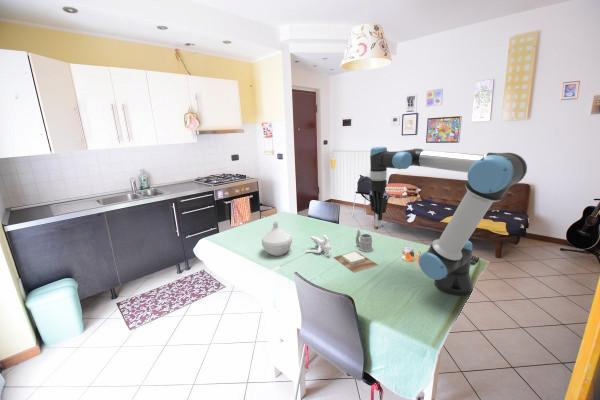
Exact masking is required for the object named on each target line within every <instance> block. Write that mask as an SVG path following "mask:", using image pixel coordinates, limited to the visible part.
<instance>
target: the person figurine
mask: <svg viewBox="0 0 600 400" xmlns="http://www.w3.org/2000/svg"><path fill="white" fill-rule="evenodd" d="M322 237H323V239H320V238H319V237H318V236H317V237H316V236H312V235H311V236H310V240H312V241H313V242H314V244H316V245H314V246H313V247H314V248H317V247H318V248H317V249H312V250H305V251H304V253H305V254H309V253H314V254H321V253H322V252H324V256H325V257H327V258H328V257H329V256H331V253H329V250H331V249H332V246H331V245H330V238H328V237H327V235H326V234H323V235H322Z"/></svg>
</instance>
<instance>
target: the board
mask: <svg viewBox="0 0 600 400" xmlns="http://www.w3.org/2000/svg"><path fill="white" fill-rule="evenodd" d="M353 252H356V253H358V254H359V255H361V256H363V257H364V258H365V261H364V262H360V263H357V264H353V265H351V264H349V263H348V262H346V261H345V260H343V259H342V255H345V254H349V253H353ZM332 259H334V260H335V261H337V262H338V263H340V264H341V265H343V266H344V267H345V268H346V269H348V270H349V271H350V272H352V273H353V274H355V273H358V272H361V271H366V270H369V269H372V268H374V267H378V266H379V264H378V263H376V262H374V261H373V260H372V259H370V258H368V257H367V256H365V255H363V254H362V253H360V252H359V251H357V250H355V251H351V252H348V253H343V254H341V255H336V256H333V258H332Z"/></svg>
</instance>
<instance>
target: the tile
mask: <svg viewBox="0 0 600 400" xmlns="http://www.w3.org/2000/svg"><path fill="white" fill-rule="evenodd" d="M352 252H353V253H351V252H348V253H349V254H347V253H344V254H345V255H343V254H341V255H342V259H343V260H345V261H346V262H348V263H349V264H351V265H353V264H357V263H360V262H364V261H365V258H364V257H363V256H364V255H363V256H361V255H359V254H358V253H359V252H358V253H356V252H354V251H352Z"/></svg>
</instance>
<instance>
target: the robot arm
mask: <svg viewBox="0 0 600 400" xmlns="http://www.w3.org/2000/svg"><path fill="white" fill-rule="evenodd" d="M369 154H370V155H369V160H370V173H369V174H370V178H369V179H370V180H369V181H370V183H369V184H370V188H371V189H370V191H368V192H367V195H368V197H369V198H368V199H369V204H370V209H371V212H373V214H374V217H373V218H374V226H375V227H377V228H378V227H380V226H382V220H383V214H385V213H386V212H387V211H386V210H387V207H388V202H389V199H390V196H391V195H390V194H387V193H386V192H387V191H386V187H387V171H388V168H389V169H398V170H406V169H409V167H412V166H413V167H414V166H415V167H421V168H422V167H424V168H431V169H437V170H445V171H452V172H461V173H466V174H467V175H466V176H467V179H468V180H467V182H466V183H465V185H464V186H465V187H464V188H465V189H466V193H465V194H464V196H463V197H462V199H461V201H460V203H459V204H458V206H457V208H456V209H455V212H454V213H453V215H452V217H451V218H450V219H449V221H448V222H447V223H448V224H447V225H446V226H445V229H444V230H443V231H442V233H441V236H440V237H439V238H438V239H437V238H436V239H434V240H433V241H432V242H431V244H430V246H429V248H428V250H426V251H425V252H423V253H422V254H420V256H419V258H418V265H419V267H420V270H421V271H422V273H424V274H425V276H427V277H428V278H430V279H432V280H434V281H433V282H434V286H435V287H436V288H437V289H438V290H441V292H444V293H447V294H449V295H453V296H465V295H469V294H470V293H472V291H473V283H472V279H471V276H470V270H471V269H470V268H471V262H472V254H473V243H472V242H471V241H470V240H469V239H470V237H471V236H472V235H473V233H474V232H475V230H476V228H477V227H478V225H479V224H480V223H481V221H482V219H483V218H484V216H485V215H486V213H487V212H488V210H489V209H490V207H491V206H492V205H493V203H496V202H500V201H501V200H502V199H503V197H504V196H505V195H506V193H507V191H508V190H509V189H510V187H511V186H513V185H515V184H518V183H520V182H521V181H522V180H523V179H524V177H526V174H527V171H528V164H527V162H526V160H525V159H524V158H523V157H522V156H521V155H519V154H517V153H514V152H487V153H485V154H477V153H476V154H475V153H468V152H467V153H465V152H453V151H439V150H431V149H428V150H427V149H423V148H413V149H406V150H405V149H404V150H398V151H390V150H389V151H388V148H387V147H386V146H373V147H371V148H370V153H369Z"/></svg>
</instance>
